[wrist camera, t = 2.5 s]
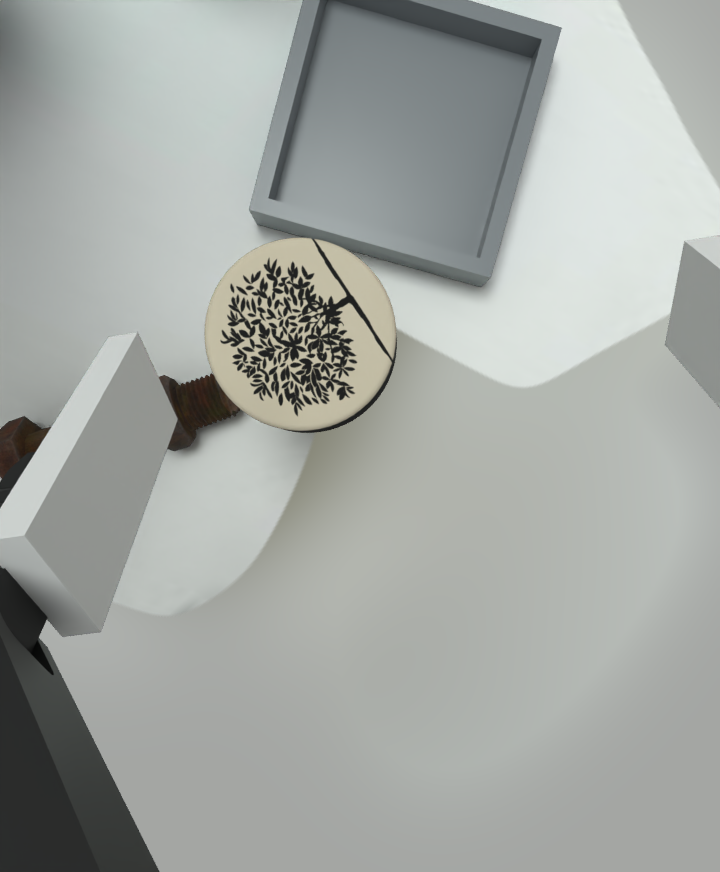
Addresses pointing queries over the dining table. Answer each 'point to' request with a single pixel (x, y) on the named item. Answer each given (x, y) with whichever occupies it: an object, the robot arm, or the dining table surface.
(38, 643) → the robot arm
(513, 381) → the dining table surface
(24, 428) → the bolt
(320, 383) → the travel mug
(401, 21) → the parts tray
